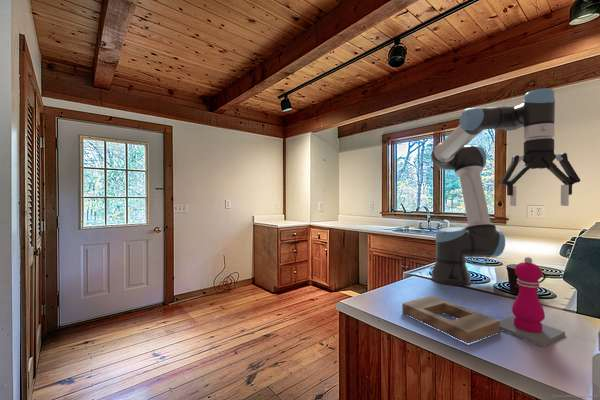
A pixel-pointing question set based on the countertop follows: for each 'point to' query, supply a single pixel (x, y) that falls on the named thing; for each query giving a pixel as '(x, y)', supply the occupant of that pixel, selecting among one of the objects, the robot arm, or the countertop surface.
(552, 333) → the grey mat
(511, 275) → the coffee mug
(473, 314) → the frame
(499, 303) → the countertop surface
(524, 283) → the pepper mill
